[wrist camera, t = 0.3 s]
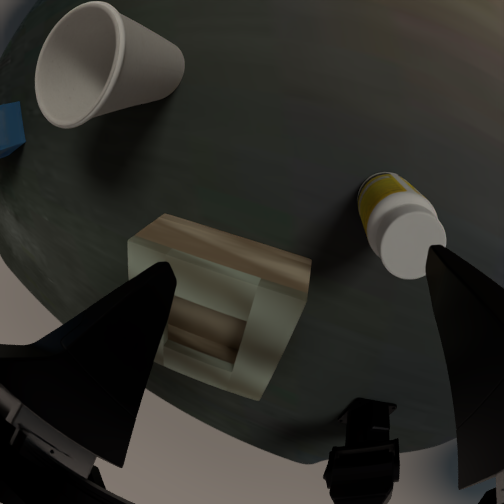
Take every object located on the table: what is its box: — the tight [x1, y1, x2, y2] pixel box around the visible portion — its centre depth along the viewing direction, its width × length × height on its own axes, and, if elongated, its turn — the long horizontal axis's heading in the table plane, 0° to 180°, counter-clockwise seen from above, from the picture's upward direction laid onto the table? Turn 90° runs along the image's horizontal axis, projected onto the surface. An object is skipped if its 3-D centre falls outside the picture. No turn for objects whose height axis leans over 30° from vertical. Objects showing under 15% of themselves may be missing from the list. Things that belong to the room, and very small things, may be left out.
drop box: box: [128, 214, 312, 401], centre depth 26 cm, size 14×14×6 cm
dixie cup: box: [35, 1, 185, 128], centre depth 15 cm, size 8×8×10 cm
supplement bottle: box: [357, 172, 446, 279], centre depth 17 cm, size 5×5×8 cm
